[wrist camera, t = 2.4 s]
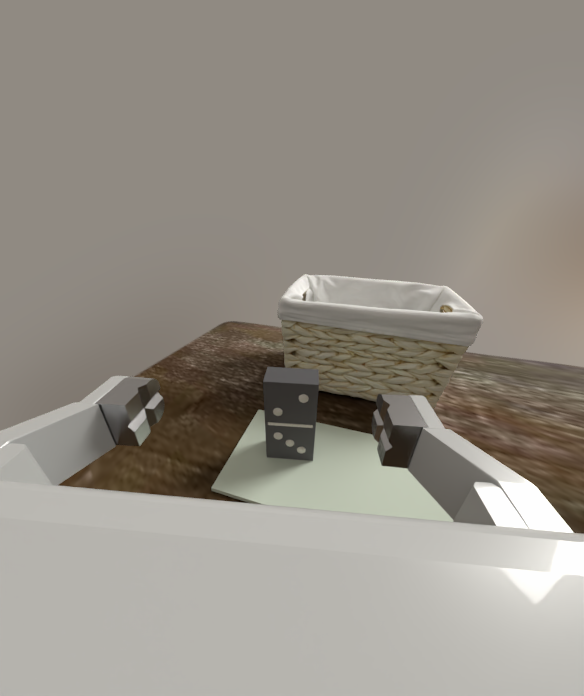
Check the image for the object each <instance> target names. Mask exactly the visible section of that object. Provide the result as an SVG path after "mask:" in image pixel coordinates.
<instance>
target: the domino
mask: <svg viewBox="0 0 584 696" xmlns="http://www.w3.org/2000/svg"><path fill="white" fill-rule="evenodd" d="M263 391H264V412H265V433H266V454H267V457H269V458H282V459H295V460H308V461H313V454H314V441H315V429H316V416H317V403H318V391H319V369H300V368H282V367H267V370H266V373H265V377H264V380H263Z"/></svg>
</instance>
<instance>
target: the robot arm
mask: <svg viewBox="0 0 584 696" xmlns="http://www.w3.org/2000/svg"><path fill="white" fill-rule="evenodd" d="M159 390H160V385H159V382H158V381H157V380H156V379H151V378H140V377H127V376H114V377H111V378H110V379H109V380H107V381H106V382H105V383H103V384H102V385H101V386H100V387H98V388H97V389H96V390H95V391H93V392H92V393H91V394H89V395H88V396H87V397H86V398H84V399H83V400H82V401H81V402H79V403H72V404H69V405H67V406H64V407H62V408H59V409H56V410H54V411H51V412H49V413H46V414H43V415H41V416H39V417H36V418H33V419H30V420H28V421H25V422H23V423H20V424H18V425H15V426H12V427H10V428H7V429H5V430H2V431H0V696H584V534H579V533H574V532H573V531H572V530H571V529H570V527H569V526H568V525H567V524H566V523H565V521H564V520H563V519H562V518H561V516H560V515H559V514H558V513H557V512H556V510H555V509H554V508H553V507H552V506H551V504H550V503H549V502H548V501H547V499H546V498H545V497H544V496H543V495H542V493H541V492H540V491H539V490H538V488H537V487H536V486H535V485H533V484H532V483H530V482H529V481H527V480H526V479H524V478H523V477H521V476H520V475H518V474H517V473H515V472H514V471H512V470H511V469H509V468H508V467H506V466H505V465H503V464H502V463H500V462H499V461H497V460H496V459H494V458H492V457H491V456H489V455H488V454H486V453H485V452H483V451H482V450H480V449H479V448H477V447H476V446H474V445H473V444H471V443H470V442H468V441H467V440H465V439H464V438H462V437H461V436H459V435H458V434H456V433H455V432H453V431H452V430H450V429H445V428H444V426H443V425H442V423H441V421H440V420H439V418H438V417H437V415H436V414H435V412H434V410H433V409H432V407H431V406H430V404H429V402H428V401H427V399H426V398H425V397H424V396H422V395H392V394H378V396H377V399H376V405H377V408H378V409H377V410H376V411H375V412H373V418H372V432H373V436H374V439H375V440H376V441H377V442H378V447H377V451H378V455H379V458H380V462H381V465H382V466H388V467H398V468H407V469H408V471H409V472H410V473H411V474H412V475H413V476H414V477H415V478H416V479H417V481H418V482H419V483H420V484H421V485H422V486H423V487H424V488H425V489H426V490H427V492H428V493H429V494H430V495H431V496H432V497H433V498H434V499H435V500H436V501H437V503H438V504H439V505H440V506H441V507H442V508H443V509H444V510H445V511H446V513H447V514H448V515H449V516H450V517H451V518H452V519H453V520H454V521H453V522H449V521H438V520H427V519H416V518H406V517H395V516H384V515H373V514H362V513H351V512H340V511H329V510H318V509H307V508H296V507H285V506H274V505H263V504H252V503H242V502H231V501H220V500H209V499H198V498H188V497H177V496H166V495H155V494H144V493H133V492H122V491H111V490H101V489H90V488H79V487H68V486H57V485H59V484H60V483H61V482H63V481H64V480H66V479H67V478H69V477H70V476H72V475H73V474H75V473H76V472H78V471H79V470H81V469H82V468H84V467H85V466H87V465H88V464H90V463H91V462H93V461H94V460H96V459H97V458H99V457H100V456H102V455H103V454H105V453H106V452H108V451H109V450H111V449H112V448H114V447H115V446H116V445H127V446H140V445H141V444H142V442H143V441H144V440H145V438H146V437H147V436H148V435H149V433H150V432H151V430H150V426H152V425H154V424H156V423H158V421H159V420H160V418H161V417H162V415H163V412H164V400H163V397H162V396H161V395H160V394H159V393H158V392H159Z"/></svg>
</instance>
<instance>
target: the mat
mask: <svg viewBox="0 0 584 696" xmlns="http://www.w3.org/2000/svg"><path fill="white" fill-rule="evenodd" d="M377 447H378V442H377V441H376V440H375V439H374V436H373V435H372V434H368V433H363V432H359V431H354V430H350V429H345V428H340V427H336V426H331V425H327V424H322V423H318V422H316V429H315V441H314V454H313V461H308V460H295V459H282V458H269V457H267V454H266V433H265V412H264V411H263V410H258V411H257V413H256V415H255V416H254V418H253V420H252V421H251V423H250V424H249V426H248V428H247V429H246V431H245V433H244V434H243V436H242V438H241V439H240V441H239V443H238V444H237V446H236V448H235V449H234V451H233V453H232V454H231V456H230V458H229V459H228V461H227V463H226V464H225V466H224V467H223V469H222V471H221V472H220V474H219V476H218V477H217V479H216V481H215V482H214V484H213V486H212V487H211V489H212V491H214V492H217V493H220V494H223V495H226V496H229V497H232V498H235V499H239V500H242V501H245V502H248V503H252V504H263V505H274V506H285V507H296V508H307V509H318V510H329V511H340V512H351V513H362V514H373V515H384V516H395V517H406V518H416V519H427V520H438V521H449V522H453V521H454V520H453V519H452V518H451V517H450V516H449V515H448V514H447V513H446V511H445V510H444V509H443V508H442V507H441V506H440V505H439V504H438V503H437V501H436V500H435V499H434V498H433V497H432V496H431V495H430V494H429V493H428V492H427V490H426V489H425V488H424V487H423V486H422V485H421V484H420V483H419V482H418V481H417V479H416V478H415V477H414V476H413V475H412V474H411V473H410V472H409V471H408V469H407V468H398V467H388V466H382V465H381V462H380V458H379V455H378V451H377Z"/></svg>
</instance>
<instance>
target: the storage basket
mask: <svg viewBox="0 0 584 696" xmlns="http://www.w3.org/2000/svg"><path fill="white" fill-rule="evenodd" d="M443 310H444V312H445V313H444V312H443ZM278 318H279V319H281V320H282V322H281V323H282V335H283V338H284V341H283V345H284V364H285V368H300V369H319V391H325V392H330V393H333V394H340V395H348V396H351V397H359V398H363V399H367V400H370V401H375V402H376V399H377V396H378V394H392V395H422V396H424V397H425V398H426V399H427V401H428V402H429V404H430V406H431V407H432V409H434V408H435V407H436V403H437V402H438V400H439V398H440V397H439V396H441V394H442V393H443V390H445V388H446V386H447V384H448V382H449V379H450V377H451V376H452V375H453V373H454V370H456V368H457V364H458V363H459V361H460V360H461V359H462V355H463V354H464V353H465V352H466V350H467V348H468V347H469V346H471V345H472V344H473V343H474V341H475V339H476V336H477V333H478V331H479V329H480V327H481V325H482V323H483V317H482V316H481V315H480V314H479V313H477V312H476V311H475V310H474V309H473V308H472V307H471V306H470V305H469V304H468V303H467V302H466V301H464V300H463V299H462V298H461V297H460V296H459V295H457V294H456V293H455V292H454V291H452V290H451V289H450V288H448V287H446V286H435V285H429V284H423V283H414V282H402V281H390V280H376V279H365V278H352V277H343V276H329V275H328V276H326V275H310V276H309V275H307V274H304V275H303V276H302V277H300V278H299V279H298V280H297V281H296V282H294V283H293V284H292V285H291V286H290V287H289V288H288V289H287V290H286V292H285V293H284V295H283V296H282V297H281V298H280V300H279V307H278Z"/></svg>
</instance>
